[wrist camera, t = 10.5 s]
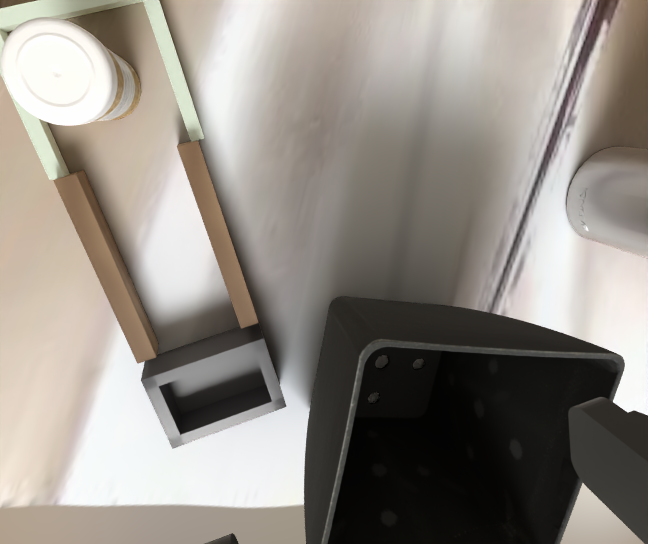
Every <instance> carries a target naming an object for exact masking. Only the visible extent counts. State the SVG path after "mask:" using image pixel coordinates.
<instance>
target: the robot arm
mask: <svg viewBox="0 0 648 544" xmlns="http://www.w3.org/2000/svg"><path fill="white" fill-rule="evenodd" d="M567 214H568V218H569V221H570V224H571V226H572V227H573V229H574V230H575V231H576V232H577V233H578V234H579V235H581V236H582V237H584V238H587V239H590V240H593V241H596V242H599V243H602V244H605V245H608V246H611V247H614V248H617V249H620V250H623V251H626V252H629V253H632V254H635V255H638V256H641V257H644V258H647V259H648V149H643V148H631V147H609V148H606V149H603V150H601V151H599V152H597V153H595V154H594V155H592V156H591V157H590V158H589V159H588V160H586V161H585V163H584V164H583V165H582V166H581V167H580V168H579V170H578V171H577V173H576V175H575V176H574V178H573V180H572V183H571V185H570V188H569V192H568V196H567ZM568 419H569V435H570V451H571V460H572V464H573V467H574V469H575V471H576V473H577V475H578V476H579V478H580V479H581V481H582V482H583V483H584V484H585V485H586V486H587V487H588V488H589V489H590V490H591V491H592V492H593V493H594V494H595V495H596V496H597V497H598V498H599V499H600V500H601V501H602V502H603V503H604V504H605V505H606V506H607V507H608V508H609V509H610V510H611V511H612V512H613V513H614V514H615V515H616V516H617V517H618V518H619V519H620V520H621V521H622V522H623V523H624V524H625V525H626V526H627V527H628V528H629V529H630V530H631V531H632V532H633V533H635V535H637V536H638V538H640V539H641V540H642V541H643V542H644V543H645V544H648V416H647V415H645V414H642V413H639V412H637V411H631V412H629V413H627V412H626V411H624V410H623V409H622V408H620V407H619V406H617V405H616V404H615V403H613V402H612V401H610V400H609V399H607V398H604V397H598V398H595V399H593V400H590V401H587V402H585V403H582V404H580V405H577V406H574V407H572V408H570V410H569V413H568ZM205 544H238V541H237V539H236V537H235V535H234V534H233V533H232V534H229V535H227V536H224V537H222V538H219V539H216V540H213V541H211V542H208V543H205Z"/></svg>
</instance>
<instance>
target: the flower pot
mask: <svg viewBox="0 0 648 544" xmlns="http://www.w3.org/2000/svg"><path fill="white" fill-rule="evenodd" d="M382 355H386V356H388V358H389V364H388V365H387V366H386V367H385V368H383V369H377V368H376V367H375V361H376V359H377V358H378V357H379V356H382ZM420 358H422V359H424V361H425V363H424V366H423V367H422V368H421V369H419V370H415V369H413V366H412V365H413V362H414V361H415V360H416V359H420ZM624 367H625V363H624V359H623V357H622V356H620V355H618V354H616V353H614V352H612V351H609V350H607V349H604V348H602V347H599V346H597V345H594V344H591V343H589V342H586V341H583V340H580V339H577V338H575V337H572V336H569V335H566V334H563V333H560V332H557V331H554V330H551V329H548V328H545V327H541V326H538V325H535V324H531V323H528V322H524V321H521V320H517V319H513V318H509V317H505V316H501V315H497V314H493V313H487V312H482V311H478V310H472V309H466V308H460V307H453V306H445V305H433V304H421V303H409V302H399V301H387V300H376V299H365V298H354V297H338V298H335V299H334V300H333V301H332V303H331V304H330V307H329V311H328V317H327V322H326V328H325V333H324V338H323V343H322V349H321V354H320V359H319V365H318V370H317V375H316V380H315V386H314V391H313V396H312V401H311V407H310V412H309V419H308V428H307V438H306V452H305V474H304V509H305V530H306V531H305V532H306V544H560V542H561V540H562V537H563V534H564V532H565V529H566V526H567V523H568V521H569V518H570V515H571V513H572V510H573V507H574V505H575V502H576V499H577V496H578V494H579V491H580V488H581V485H582V483H583V482H582V481H581V479H580V478H579V476H578V475H577V473H576V471H575V469H574V467H573V464H572V460H571V451H570V435H569V419H568V413H569V410H570V408H572V407H574V406H577V405H580V404H582V403H585V402H587V401H590V400H593V399H595V398H598V397H604V398H607V399H609V400H610V401H612V402H613V399H614V396H615V394H616V391H617V388H618V385H619V383H620V380H621V377H622V374H623V371H624ZM374 392H378V393H379V394H380V399H379V401H378V402H377V403H375V404H370V403H369V402H368V400H367V399H368V397H369V395H370V394H371V393H374Z"/></svg>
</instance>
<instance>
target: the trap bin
mask: <svg viewBox="0 0 648 544" xmlns="http://www.w3.org/2000/svg"><path fill="white" fill-rule="evenodd" d="M141 381H142V383H143V386H144V388H145V390H146V392H147V394H148V396H149V399H150V401H151V403H152V405H153V407H154V409H155V411H156V414H157V416H158V418H159V420H160V422H161V424H162V427H163V429H164V431H165V433H166V435H167V437H168V439H169V442H170V444H171V446H172V448H176V447H178V446H181V445H184V444H186V443H189V442H192V441H195V440H197V439H200V438H203V437H205V436H208V435H211V434H214V433H216V432H219V431H222V430H224V429H227V428H230V427H233V426H235V425H238V424H241V423H243V422H246V421H249V420H252V419H254V418H257V417H260V416H262V415H265V414H268V413H271V412H273V411H276V410H279V409H281V408H284V407H286V404H285V401H284V397H283V394H282V391H281V387H280V384H279V381H278V378H277V375H276V372H275V369H274V366H273V363H272V360H271V357H270V354H269V351H268V348H267V345H266V342H265V339H264V336H263V333H262V330H261V327H260V324H259V321H258V323H256V324H253V325H250V326H248V327H245V328H242V329H241V327H239V328H236V329H233V330H230V331H227V332H224V333H221V334H218V335H215V336H212V337H209V338H206V339H203V340H200V341H197V342H194V343H191V344H188V345H185V346H182V347H179V348H177V349H174V350H171V351H168V352H165V353H162V354H159V355H157V357H156V358H153V359H150V360H147V361H145V364H144V369H143V373H142V378H141Z"/></svg>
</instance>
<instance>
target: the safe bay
mask: <svg viewBox="0 0 648 544" xmlns="http://www.w3.org/2000/svg"><path fill="white" fill-rule="evenodd" d="M139 2H144V5H145V8H146V11H147V14H148V17H149V20H150V23H151V26H152V28H153V31H154V34H155V37H156V40H157V43H158V46H159V49H160V52H161V55H162V58H163V61H164V64H165V67H166V70H167V73H168V76H169V79H170V82H171V84H172V87H173V90H174V93H175V96H176V99H177V102H178V105H179V108H180V111H181V114H182V117H183V120H184V123H185V126H186V129H187V132H188V135H189V137H190V140H191V142H193V141H197V140H200V139H204V135H203V132H202V129H201V126H200V123H199V120H198V117H197V114H196V111H195V108H194V105H193V102H192V99H191V96H190V93H189V90H188V87H187V84H186V80H185V77H184V74H183V71H182V68H181V65H180V62H179V59H178V56H177V53H176V50H175V47H174V44H173V41H172V38H171V35H170V32H169V29H168V26H167V23H166V19H165V16H164V13H163V10H162V7H161V4H160V1H159V0H37V1H33V2H28V3H23V4H19V5H14V6H10V7H5V8H0V74H1V76H2V78H3V74H2V70H1V53H2V49H3V46H4V43H5V41H6V39H7V37H8V34H7V32H9V31H13V30H14V29H15V28H16V27H17V26H18V25H20V24H22V23H24V22H26V21H28V20H31V19H35V18H39V17H53V18H59V19H68V18H72V17H76V16H81V15H85V14H90V13H94V12H99V11H103V10H108V9H112V8H117V7H121V6H126V5H130V4H135V3H139ZM3 80H4V78H3ZM4 82H5V81H4ZM5 85H6V84H5ZM6 87H7V86H6ZM7 89H8V88H7ZM8 91H9V90H8ZM9 93H10V91H9ZM10 95H11V97H12V100H13V102H14V104H15V106H16V108H17V110H18V113H19V115H20V117H21V119H22V121H23V123H24V126H25V128H26V130H27V132H28V134H29V136H30V138H31V141H32V143H33V145H34V147H35V149H36V151H37V154H38V156H39V158H40V160H41V162H42V164H43V167H44V169H45V171H46V173H47V175H48V177H49V180H53V179H57V178H61V177H64V176H66V175H68V174H70V173H69V171H68V169H67V166H66V164H65V162H64V160H63V157H62V155H61V153H60V151H59V148H58V146H57V144H56V142H55V139H54V137H53V135H52V133H51V130H50V128H49V126H48V124H47V122H46V121H43V120H41V119H39V118H37V117H35V116H33V115H32V114H30V113H29V112H28V111H26V110H25V109H24V108H23V107H22V106H21V105H20V104H19V103H18V102H17V101H16V100H15V99H14V97H13V96H12V94H11V93H10Z"/></svg>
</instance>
